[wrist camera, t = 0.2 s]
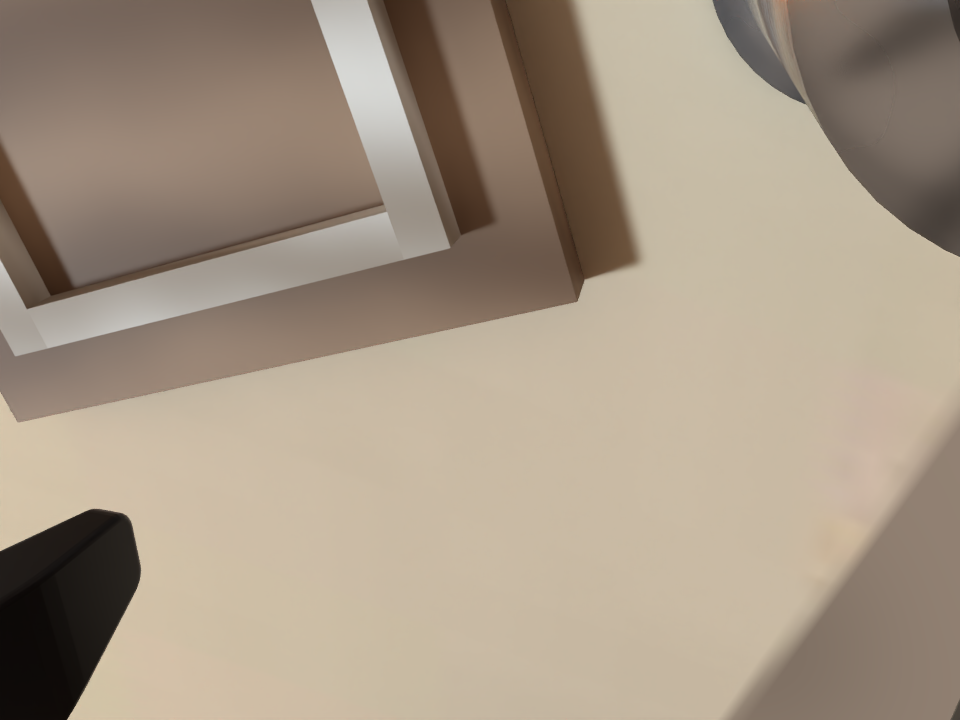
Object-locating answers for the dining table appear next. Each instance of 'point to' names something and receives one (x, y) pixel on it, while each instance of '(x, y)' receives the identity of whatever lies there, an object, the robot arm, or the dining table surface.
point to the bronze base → (259, 188)
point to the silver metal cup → (871, 92)
